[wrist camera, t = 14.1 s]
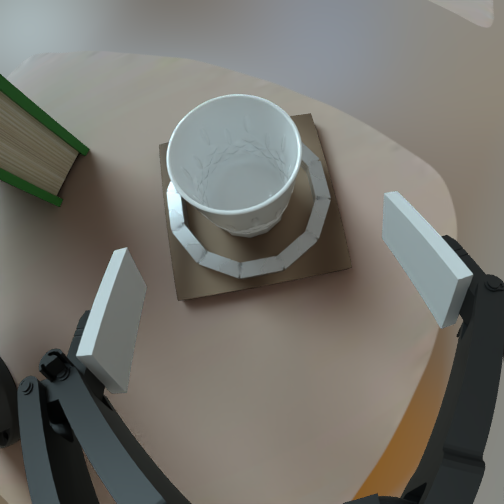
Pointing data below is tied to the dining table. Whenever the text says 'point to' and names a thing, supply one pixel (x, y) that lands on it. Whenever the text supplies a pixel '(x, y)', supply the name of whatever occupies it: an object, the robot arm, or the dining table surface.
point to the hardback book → (33, 146)
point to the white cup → (236, 162)
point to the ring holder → (262, 246)
